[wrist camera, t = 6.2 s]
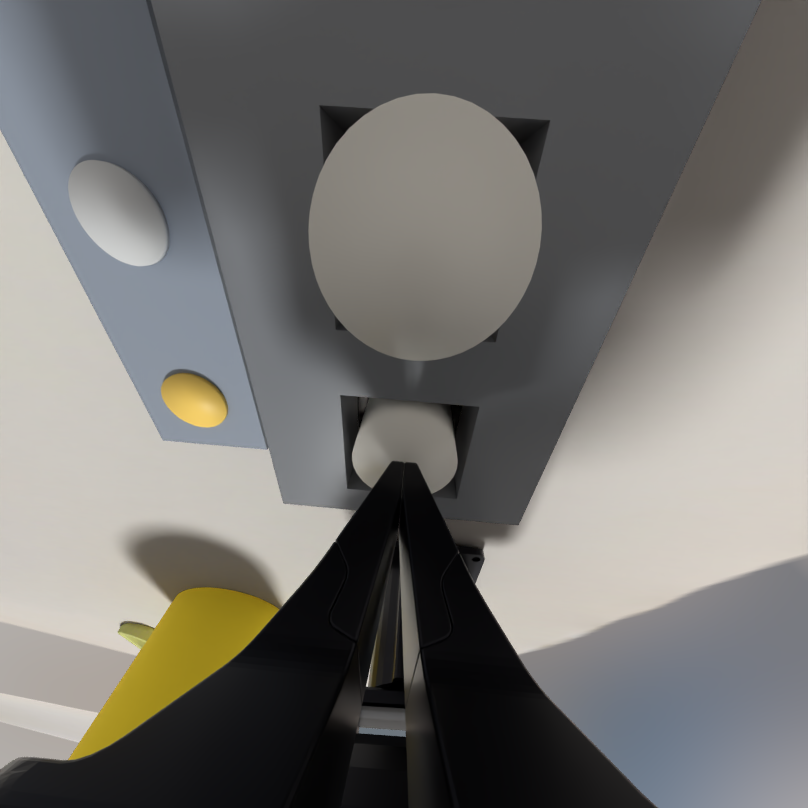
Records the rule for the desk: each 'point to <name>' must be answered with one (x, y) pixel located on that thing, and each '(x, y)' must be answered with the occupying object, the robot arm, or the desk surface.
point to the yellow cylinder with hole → (178, 658)
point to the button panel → (548, 157)
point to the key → (135, 633)
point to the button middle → (425, 227)
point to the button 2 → (406, 440)
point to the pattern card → (127, 205)
